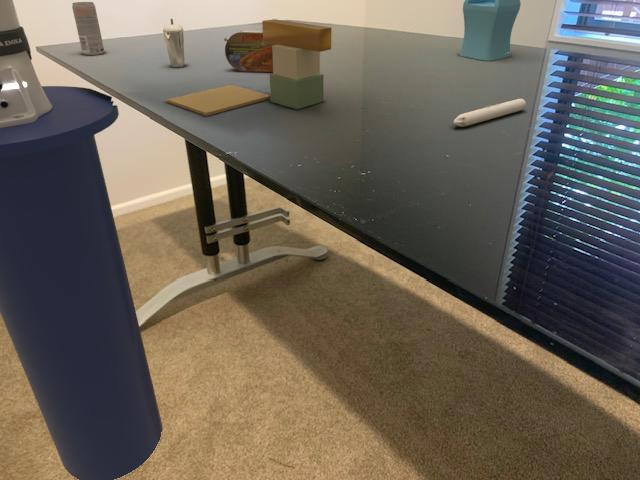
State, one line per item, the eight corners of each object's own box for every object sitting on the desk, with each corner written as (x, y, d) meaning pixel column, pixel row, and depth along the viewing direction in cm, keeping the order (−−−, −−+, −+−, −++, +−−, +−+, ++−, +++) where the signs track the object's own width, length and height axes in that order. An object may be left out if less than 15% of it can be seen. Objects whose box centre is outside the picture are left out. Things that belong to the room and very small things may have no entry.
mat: (206, 116, 86) (206, 112, 86) (167, 102, 93) (166, 99, 93) (271, 98, 96) (270, 95, 96) (231, 87, 103) (230, 84, 102)
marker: (457, 131, 80) (460, 116, 79) (447, 127, 82) (449, 113, 81) (524, 111, 90) (527, 98, 88) (514, 108, 91) (517, 95, 90)
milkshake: (187, 62, 122) (181, 18, 117) (188, 67, 118) (182, 21, 113) (167, 63, 121) (161, 18, 116) (168, 68, 117) (161, 22, 112)
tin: (226, 71, 115) (222, 31, 111) (230, 68, 118) (227, 29, 114) (290, 73, 113) (289, 33, 109) (293, 70, 116) (292, 31, 112)
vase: (456, 55, 132) (471, -56, 119) (478, 50, 138) (495, -56, 125) (488, 61, 126) (508, -55, 113) (510, 56, 131) (531, -55, 118)
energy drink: (100, 50, 135) (90, 1, 129) (107, 53, 131) (97, 3, 125) (80, 52, 132) (68, 2, 126) (86, 56, 128) (74, 4, 122)
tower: (297, 109, 90) (296, 50, 85) (270, 101, 94) (268, 45, 89) (323, 101, 94) (324, 45, 89) (297, 94, 98) (296, 40, 93)
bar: (319, 51, 84) (319, 29, 82) (263, 41, 92) (262, 20, 90) (331, 49, 86) (331, 27, 84) (275, 39, 94) (274, 19, 92)
